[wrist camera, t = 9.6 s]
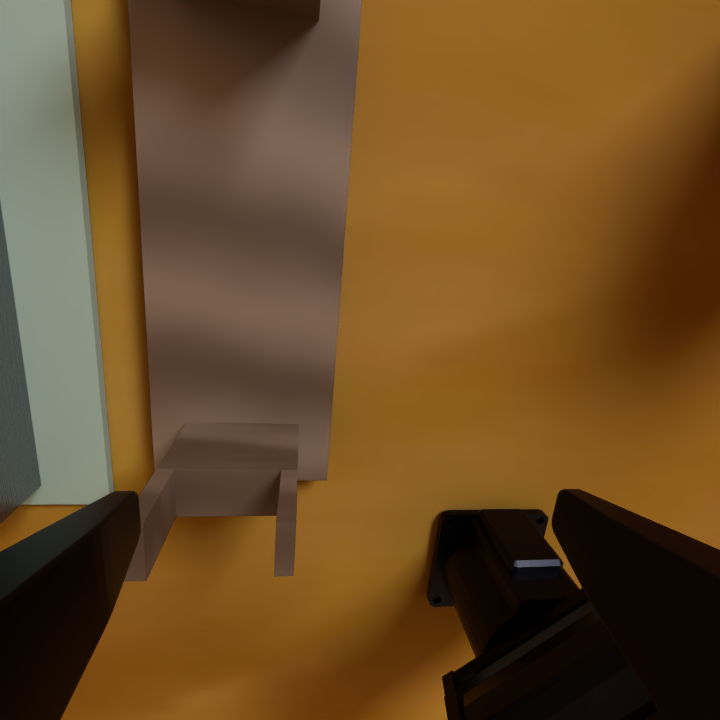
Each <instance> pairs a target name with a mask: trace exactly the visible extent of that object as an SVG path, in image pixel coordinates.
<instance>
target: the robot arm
mask: <svg viewBox="0 0 720 720" xmlns="http://www.w3.org/2000/svg"><path fill="white" fill-rule="evenodd" d="M451 518H452V519H451ZM538 518H539V519H538ZM448 519H451V520H450V521H448V522H447V520H448ZM537 519H538V520H537ZM547 523H548V517H547V515H546V514H545V513H544V512H543V511H542V510H539V509H529V510H520V509H482V510H448V511H445V512H443V513H442V514H441V516H440V519H439V525H438V531H437V537H436V543H435V550H434V556H433V562H432V568H431V574H430V580H429V586H428V592H427V598H428V601H429V603H430V605H431V606H434V607H441V606H455V608H456V611H457V613H458V616H459V618H460V621H461V623H462V625H463V628H464V630H465V633H466V635H467V638H468V640H469V642H470V645H471V647H472V650H473V652H474V654H475V657H476V658H474V659H473V660H471V661H470V662H468V663H467V664H465V665H464V666H462V667H461V668H459V669H458V670H456V671H455V672H453V671H450V672H449V673H447V674H446V675H444V676H443V677H442V680H443V686H444V692H445V697H444V699H445V705H446V711H447V718H448V720H720V550H719V549H716V548H714V547H712V546H709V545H707V544H705V543H703V542H700V541H698V540H696V539H693V538H691V537H689V536H686V535H684V534H682V533H679V532H677V531H675V530H673V529H670V528H668V527H666V526H663V525H661V524H659V523H656V522H654V521H652V520H649V519H647V518H645V517H643V516H640V515H638V514H636V513H633V512H631V511H629V510H626V509H624V508H622V507H619V506H617V505H615V504H613V503H610V502H608V501H606V500H603V499H601V498H599V497H596V496H594V495H592V494H589V493H587V492H585V491H582V490H580V489H563V490H561V491H560V492H559V493H558V496H557V500H556V504H555V508H554V512H553V516H552V528H553V532H554V534H555V536H556V538H557V540H558V542H559V543H560V545H561V547H562V549H563V551H564V553H565V555H566V557H567V559H568V561H569V563H570V565H571V567H572V569H573V571H574V573H575V575H576V577H577V578H578V580H579V582H580V584H581V586H582V588H581V589H579V587H578V586H577V585H576V584H575V582H574V581H573V580H572V579H571V577H570V576H569V575H568V574H567V572H566V571H565V570H564V569H563V564H564V563H563V561H562V560H561V559H560V557H559V556H558V555H557V554H556V552H555V551H554V550H553V549H552V547H551V546H550V545H549V544H548V542H547V541H546V540H545V539H544V535H545V531H546V527H547ZM140 533H141V520H140V507H139V497H138V494H137V493H136V492H135V491H114V492H111V493H110V494H108V495H106V496H104V497H102V498H100V499H98V500H96V501H95V502H93V503H91V504H89V505H87V506H85V507H83V508H81V509H80V510H78V511H76V512H74V513H72V514H70V515H68V516H66V517H65V518H63V519H61V520H59V521H57V522H55V523H53V524H52V525H50V526H48V527H46V528H44V529H42V530H40V531H38V532H37V533H35V534H33V535H31V536H29V537H27V538H25V539H23V540H22V541H20V542H18V543H16V544H14V545H12V546H10V547H8V548H7V549H5V550H3V551H1V552H0V720H60V719H61V717H62V715H63V713H64V711H65V709H66V707H67V705H68V703H69V701H70V699H71V697H72V695H73V693H74V691H75V689H76V687H77V685H78V683H79V681H80V679H81V677H82V675H83V673H84V671H85V668H86V666H87V664H88V662H89V660H90V658H91V656H92V654H93V652H94V650H95V648H96V646H97V644H98V642H99V640H100V638H101V636H102V634H103V632H104V630H105V627H106V625H107V623H108V621H109V619H110V616H111V614H112V611H113V609H114V606H115V604H116V601H117V598H118V596H119V593H120V590H121V588H122V585H123V582H124V579H125V577H126V574H127V571H128V569H129V566H130V563H131V560H132V558H133V555H134V552H135V550H136V547H137V544H138V541H139V538H140ZM435 597H436V598H435Z"/></svg>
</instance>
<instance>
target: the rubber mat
mask: <svg viewBox="0 0 720 720" xmlns="http://www.w3.org/2000/svg"><path fill="white" fill-rule="evenodd" d="M0 202H1V209H2V216H3V222H4V229H5V236H6V243H7V250H8V257H9V264H10V271H11V278H12V285H13V292H14V299H15V306H16V313H17V320H18V327H19V334H20V340H21V347H22V354H23V361H24V368H25V375H26V382H27V389H28V396H29V403H30V410H31V417H32V424H33V431H34V438H35V445H36V452H37V459H38V465H39V472H40V479H41V486H40V487H39V488H38V489H37V490H36V491H35V492H34V493H33V494H32V495H31V496H30V497H28V498H27V499H26V500H25V501H24V502H23V503H22V504H21V505H43V504H91V503H93V502H95V501H96V500H98V499H100V498H102V497H104V496H106V495H108V494H110V493H111V492H114V486H113V475H112V463H111V452H110V441H109V429H108V418H107V407H106V395H105V384H104V373H103V361H102V350H101V339H100V327H99V316H98V305H97V293H96V282H95V271H94V259H93V248H92V237H91V226H90V214H89V203H88V192H87V180H86V169H85V158H84V146H83V135H82V124H81V112H80V101H79V90H78V78H77V67H76V56H75V44H74V33H73V22H72V10H71V0H0Z"/></svg>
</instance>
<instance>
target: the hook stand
mask: <svg viewBox="0 0 720 720" xmlns="http://www.w3.org/2000/svg"><path fill="white" fill-rule="evenodd" d="M361 6H362V0H128V13H129V31H130V49H131V66H132V84H133V102H134V119H135V137H136V155H137V173H138V190H139V208H140V226H141V243H142V261H143V279H144V296H145V314H146V332H147V349H148V367H149V385H150V402H151V420H152V438H153V455H154V473H153V475H152V477H151V478H150V480H149V481H148V483H147V484H146V486H145V487H144V489H143V490H142V492H141V494H140V495H139V507H140V520H141V533H140V538H139V541H138V544H137V547H136V550H135V552H134V555H133V558H132V560H131V563H130V566H129V569H128V571H127V574H126V577H125V581H146V580H147V578H148V576H149V574H150V572H151V570H152V568H153V565H154V563H155V561H156V559H157V557H158V555H159V552H160V550H161V548H162V546H163V544H164V542H165V539H166V537H167V535H168V533H169V531H170V529H171V526H172V524H173V522H174V520H175V518H176V517H190V516H277V520H276V542H275V570H274V577H275V576H293V574H294V555H295V536H296V511H297V480H327V469H328V455H329V442H330V428H331V414H332V401H333V387H334V373H335V360H336V346H337V333H338V319H339V305H340V292H341V278H342V265H343V251H344V237H345V224H346V210H347V197H348V183H349V169H350V156H351V142H352V128H353V115H354V101H355V88H356V74H357V60H358V47H359V33H360V20H361Z"/></svg>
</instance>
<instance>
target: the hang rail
mask: <svg viewBox="0 0 720 720" xmlns="http://www.w3.org/2000/svg"><path fill="white" fill-rule="evenodd" d="M40 486H41V479H40V472H39V465H38V459H37V452H36V445H35V438H34V431H33V424H32V417H31V410H30V403H29V396H28V389H27V382H26V375H25V368H24V361H23V354H22V347H21V340H20V334H19V327H18V320H17V313H16V306H15V299H14V292H13V285H12V278H11V271H10V264H9V257H8V250H7V243H6V236H5V229H4V222H3V216H2V209H1V202H0V524H1V523H2V522H3V521H4V520H5V519H6V518H7V517H8V516H9V515H10V514H11V513H12V512H13V511H15V510H16V509H17V508H18V507H19V506H20V505H21V504H22V503H23V502H24V501H25V500H26V499H27V498H28V497H30V496H31V495H32V494H33V493H34V492H35V491H36V490H37V489H38V488H39V487H40Z"/></svg>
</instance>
